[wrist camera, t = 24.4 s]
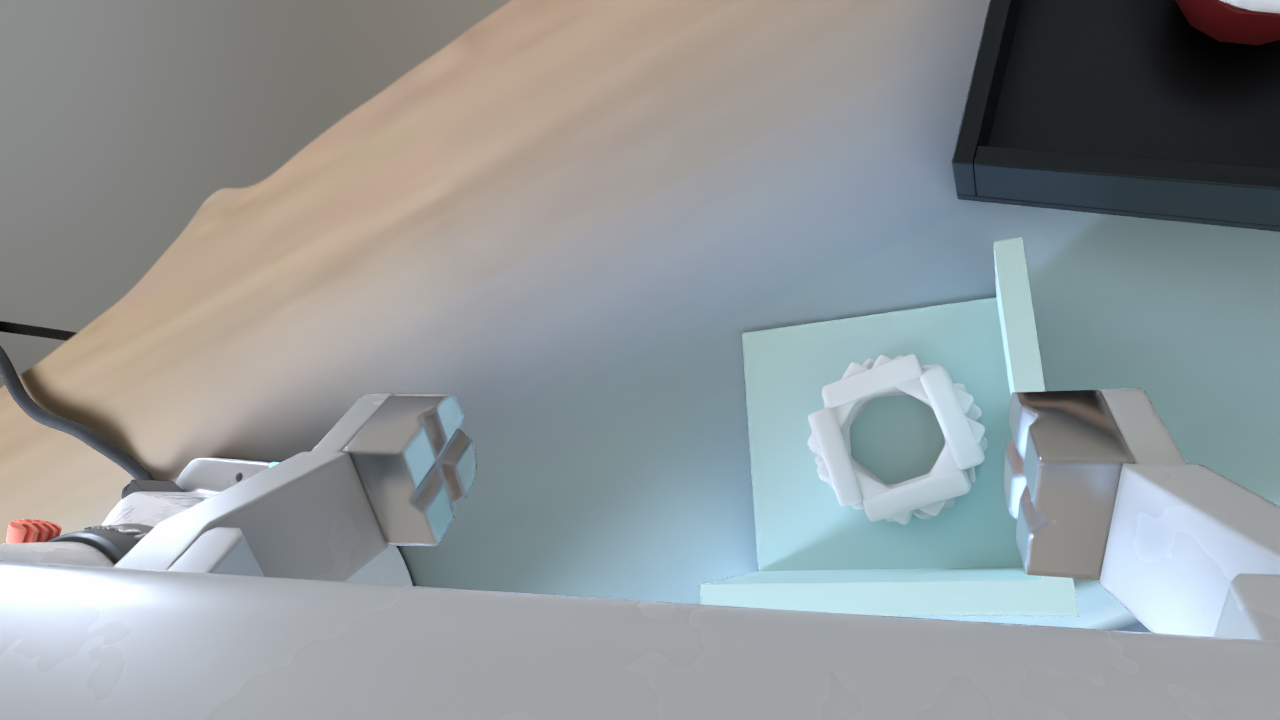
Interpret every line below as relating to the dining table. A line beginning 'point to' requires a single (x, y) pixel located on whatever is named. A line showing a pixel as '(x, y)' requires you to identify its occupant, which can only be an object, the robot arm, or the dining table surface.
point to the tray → (1121, 115)
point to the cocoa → (1235, 19)
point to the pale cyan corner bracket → (892, 461)
